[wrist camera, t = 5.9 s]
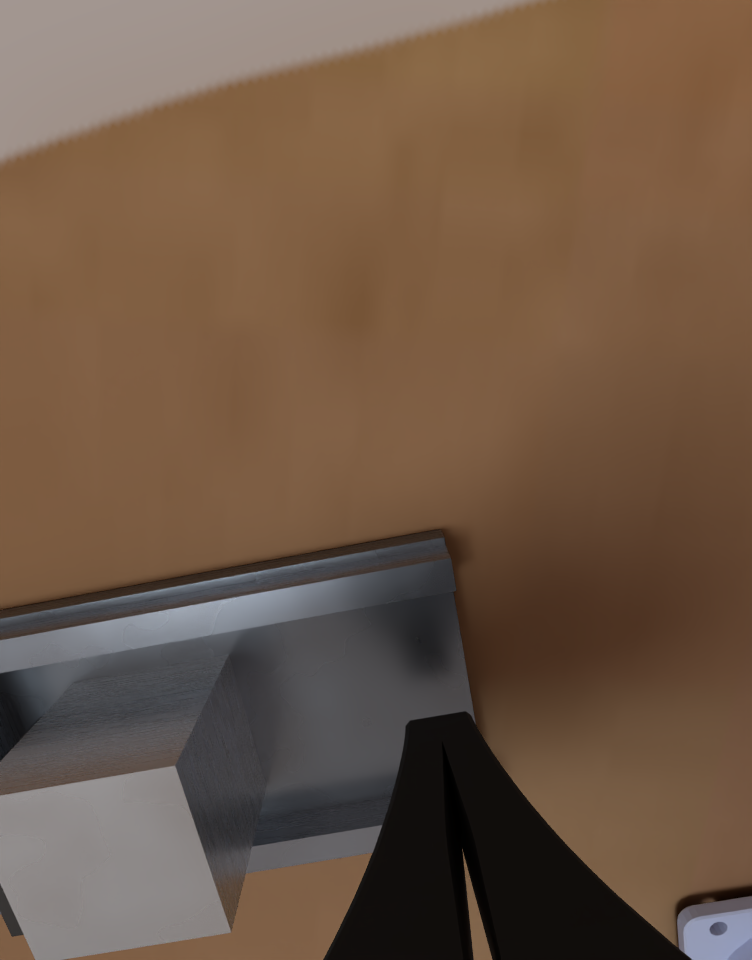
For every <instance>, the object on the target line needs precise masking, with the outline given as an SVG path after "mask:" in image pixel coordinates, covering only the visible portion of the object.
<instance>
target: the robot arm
mask: <svg viewBox="0 0 752 960" xmlns="http://www.w3.org/2000/svg"><path fill="white" fill-rule="evenodd" d="M462 849H463V852H462ZM463 853H464V856H465V860H466V864H467V867H468V871H469V875H470V878H471V882H472V886H473V889H474V893H475V897H476V900H477V904H478V908H479V911H480V915H481V919H482V922H483V926H484V930H485V933H486V937H487V941H488V944H489V948H490V952H491V955H492V959H493V960H752V896H748V897H741V898H735V899H729V900H722V901H716V902H710V903H703V904H697V905H691V906H688V907H686V908H684V909H683V910H682V911H681V912H680V913H679V915H678V920H677V926H678V940H679V948H677V947H676V946H675V945H674V944H672V943H671V942H670V941H669V940H668V939H667V938H665V937H664V936H663V935H662V934H661V933H660V932H659V931H658V930H656V929H655V928H654V927H653V926H652V925H651V924H650V923H648V922H647V921H646V920H645V919H644V918H643V917H642V916H640V915H639V914H638V913H637V912H636V911H635V910H634V909H632V908H631V907H630V906H629V905H628V904H627V903H626V902H624V901H623V900H622V899H621V898H620V897H619V896H618V895H617V894H616V893H614V892H613V891H612V890H611V889H610V888H609V887H608V886H607V885H606V884H605V883H604V882H603V881H602V880H601V879H600V878H599V877H598V876H597V875H596V874H595V873H594V872H593V871H592V870H591V869H590V868H589V867H588V866H587V865H586V864H585V863H584V862H583V861H582V860H581V859H580V858H579V857H578V856H577V855H576V854H575V853H574V852H573V851H572V850H571V849H570V848H569V847H568V846H567V845H566V844H565V842H564V841H563V840H562V839H561V838H560V837H559V836H558V835H557V834H556V833H555V832H554V830H553V829H552V828H551V827H550V826H549V825H548V824H547V822H546V821H545V820H544V819H543V818H542V817H541V815H540V814H539V813H538V812H537V811H536V809H535V808H534V807H533V806H532V805H531V804H530V802H529V801H528V800H527V799H526V797H525V796H524V795H523V794H522V792H521V791H520V790H519V788H518V787H517V786H516V784H515V783H514V782H513V780H512V779H511V778H510V776H509V775H508V774H507V772H506V771H505V770H504V768H503V767H502V766H501V764H500V763H499V761H498V760H497V758H496V757H495V756H494V754H493V752H492V751H491V749H490V748H489V746H488V745H487V743H486V742H485V740H484V738H483V737H482V735H481V733H480V732H479V730H478V728H477V726H476V724H475V722H474V720H473V718H472V716H471V715H470V714H469V713H468V712H466V711H463V712H457V713H451V714H445V715H439V716H433V717H428V718H422V719H416V720H410V721H409V722H408V723H407V725H406V726H405V738H404V745H403V751H402V756H401V761H400V766H399V770H398V774H397V778H396V782H395V785H394V789H393V793H392V796H391V800H390V803H389V807H388V810H387V813H386V816H385V819H384V822H383V825H382V828H381V831H380V834H379V836H378V839H377V842H376V845H375V848H374V851H373V853H372V856H371V858H370V861H369V864H368V866H367V869H366V871H365V873H364V876H363V878H362V881H361V883H360V885H359V887H358V890H357V892H356V894H355V897H354V899H353V901H352V903H351V905H350V907H349V910H348V912H347V914H346V916H345V918H344V920H343V922H342V924H341V926H340V928H339V930H338V932H337V934H336V936H335V938H334V940H333V942H332V944H331V946H330V948H329V950H328V952H327V954H326V956H325V958H324V959H323V960H473V950H472V940H471V930H470V920H469V910H468V901H467V891H466V881H465V871H464V861H463Z"/></svg>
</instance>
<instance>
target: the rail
mask: <svg viewBox="0 0 752 960" xmlns="http://www.w3.org/2000/svg"><path fill="white" fill-rule="evenodd" d="M453 591H456V585H455V579H454V573H453V567H452V561H451V557H450V555H449V552H448V550H447V547H446V545H445V539H444V535H443V533H442V531H441V529H438V530H433V531H427V532H422V533H417V534H411V535H406V536H400V537H395V538H389V539H384V540H379V541H373V542H368V543H362V544H357V545H352V546H346V547H341V548H335V549H330V550H324V551H319V552H314V553H308V554H303V555H297V556H292V557H286V558H281V559H276V560H270V561H265V562H259V563H254V564H249V565H243V566H238V567H232V568H227V569H221V570H216V571H211V572H205V573H200V574H194V575H189V576H184V577H178V578H173V579H167V580H162V581H156V582H151V583H146V584H140V585H135V586H129V587H124V588H119V589H113V590H108V591H102V592H97V593H91V594H86V595H81V596H75V597H70V598H64V599H59V600H54V601H48V602H43V603H37V604H32V605H26V606H21V607H16V608H10V609H5V610H0V760H1V759H2V757H3V756H4V755H5V754H6V753H7V752H8V751H9V750H10V749H11V748H12V747H13V746H14V745H15V744H16V742H17V741H18V740H19V739H20V738H21V737H22V736H23V735H24V734H25V733H26V732H27V731H28V730H29V729H30V727H31V726H32V725H33V724H34V723H35V722H36V721H37V720H38V719H39V718H40V717H41V716H43V715H44V714H45V713H46V712H47V711H48V710H49V708H50V707H51V706H52V705H53V704H54V703H55V702H56V701H57V700H58V699H59V698H60V697H61V695H62V694H63V693H64V692H65V691H66V690H67V689H68V688H69V687H70V686H71V685H72V684H73V683H74V682H79V681H85V680H91V679H96V678H102V677H107V676H113V675H119V674H124V673H130V672H135V671H141V670H147V669H152V668H158V667H163V666H169V665H175V664H180V663H186V662H191V661H197V660H203V659H208V658H214V657H219V656H225V655H229V657H230V661H231V664H232V668H233V671H234V675H235V678H236V682H237V685H238V689H239V692H240V695H241V699H242V702H243V706H244V709H245V713H246V716H247V720H248V723H249V727H250V730H251V733H252V737H253V740H254V744H255V747H256V751H257V754H258V758H259V761H260V765H261V768H262V771H263V775H264V778H265V782H266V785H267V788H266V792H265V796H264V800H263V804H262V808H261V812H260V817H259V821H258V825H257V829H256V833H255V837H254V841H253V845H252V849H251V854H250V858H249V862H248V866H247V870H246V873H251V872H257V871H263V870H269V869H276V868H282V867H288V866H294V865H300V864H306V863H312V862H318V861H324V860H330V859H336V858H342V857H349V856H355V855H361V854H367V853H373V851H374V848H375V845H376V842H377V839H378V836H379V834H380V831H381V828H382V825H383V822H384V819H385V816H386V813H387V810H388V807H389V803H390V800H391V796H392V793H393V789H394V785H395V782H396V778H397V774H398V770H399V766H400V761H401V756H402V751H403V745H404V738H405V726H406V725H407V723H408V722H409V721H410V720H416V719H422V718H428V717H433V716H439V715H445V714H451V713H457V712H463V711H466V712H468V713H469V714H470V715H471V716H472V718H473V720H474V722H475V717H474V711H473V705H472V699H471V693H470V687H469V681H468V675H467V669H466V663H465V657H464V652H463V646H462V640H461V634H460V628H459V622H458V616H457V610H456V604H455V598H454V592H453ZM475 724H476V723H475ZM0 914H1V912H0Z"/></svg>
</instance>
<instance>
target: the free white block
mask: <svg viewBox="0 0 752 960" xmlns="http://www.w3.org/2000/svg"><path fill="white" fill-rule="evenodd" d="M266 788H267V785H266V782H265V778H264V775H263V771H262V768H261V765H260V761H259V758H258V754H257V751H256V747H255V744H254V740H253V737H252V733H251V730H250V727H249V723H248V720H247V716H246V713H245V709H244V706H243V702H242V699H241V695H240V692H239V689H238V685H237V682H236V678H235V675H234V671H233V668H232V664H231V661H230V657H229V655H225V656H219V657H214V658H208V659H203V660H197V661H191V662H186V663H180V664H175V665H169V666H163V667H158V668H152V669H147V670H141V671H135V672H130V673H124V674H119V675H113V676H107V677H102V678H96V679H91V680H85V681H79V682H74V683H73V684H72V685H71V686H70V687H69V688H68V689H67V690H66V691H65V692H64V693H63V694H62V695H61V697H60V698H59V699H58V700H57V701H56V702H55V703H54V704H53V705H52V706H51V707H50V708H49V710H48V711H47V712H46V713H45V714H44V715H43V716H41V717H40V718H39V719H38V720H37V721H36V722H35V723H34V724H33V725H32V726H31V727H30V729H29V730H28V731H27V732H26V733H25V734H24V735H23V736H22V737H21V738H20V739H19V740H18V741H17V742H16V744H15V745H14V746H13V747H12V748H11V749H10V750H9V751H8V752H7V753H6V754H5V755H4V756H3V757H2V759H1V760H0V912H1V914H2V917H3V919H4V921H5V923H6V925H7V927H8V929H9V931H10V934H11V936H19V935H24V936H25V938H26V940H27V943H28V945H29V947H30V949H31V951H32V953H33V956H34V958H35V960H63V959H69V958H75V957H81V956H88V955H94V954H100V953H106V952H113V951H119V950H125V949H131V948H138V947H144V946H150V945H156V944H163V943H169V942H175V941H181V940H188V939H194V938H200V937H206V936H213V935H219V934H225V933H231V931H232V927H233V923H234V919H235V915H236V911H237V907H238V903H239V899H240V895H241V890H242V886H243V882H244V878H245V874H246V870H247V866H248V862H249V858H250V854H251V849H252V845H253V841H254V837H255V833H256V829H257V825H258V821H259V817H260V812H261V808H262V804H263V800H264V796H265V792H266Z"/></svg>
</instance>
